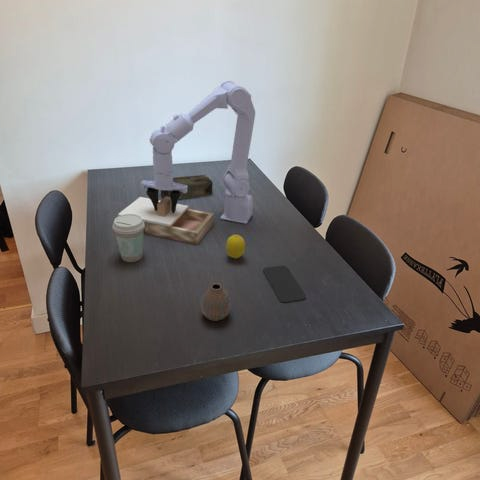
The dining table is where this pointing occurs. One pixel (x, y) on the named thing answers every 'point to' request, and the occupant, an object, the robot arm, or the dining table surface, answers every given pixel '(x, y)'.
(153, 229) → the box
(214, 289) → the vase
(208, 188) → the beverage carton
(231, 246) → the lemon
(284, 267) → the phone
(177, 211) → the lid
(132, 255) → the coffee cup
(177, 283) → the dining table surface
